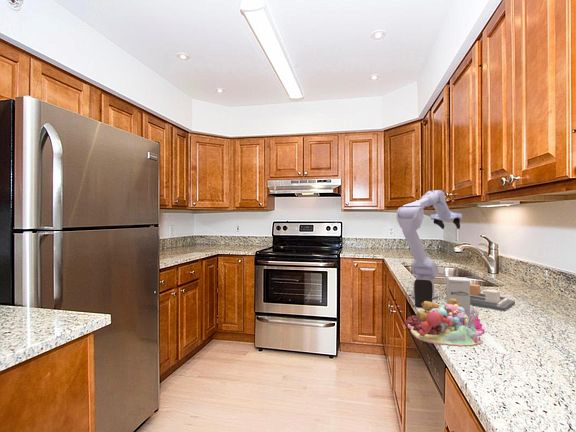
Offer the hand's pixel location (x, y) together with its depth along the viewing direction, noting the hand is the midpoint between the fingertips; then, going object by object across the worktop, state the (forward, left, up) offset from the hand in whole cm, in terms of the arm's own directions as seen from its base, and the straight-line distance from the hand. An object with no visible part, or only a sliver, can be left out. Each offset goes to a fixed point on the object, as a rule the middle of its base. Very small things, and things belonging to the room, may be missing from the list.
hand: (451, 227), depth 160 cm
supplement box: (-38, -17, -31) cm, 52 cm away
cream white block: (-23, -25, -29) cm, 45 cm away
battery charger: (-43, -6, -31) cm, 53 cm away
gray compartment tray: (-19, -20, -31) cm, 42 cm away
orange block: (-16, -16, -29) cm, 37 cm away
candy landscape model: (-64, -23, -32) cm, 75 cm away
